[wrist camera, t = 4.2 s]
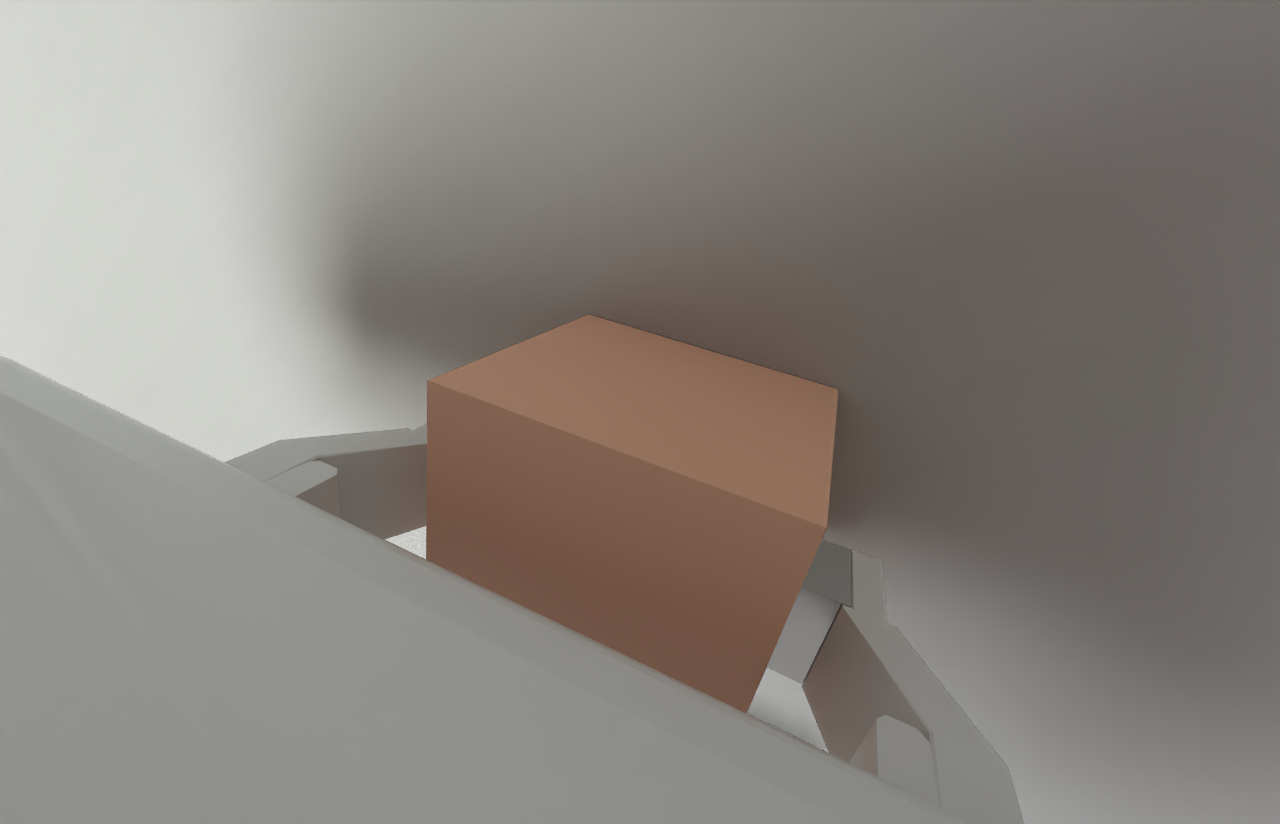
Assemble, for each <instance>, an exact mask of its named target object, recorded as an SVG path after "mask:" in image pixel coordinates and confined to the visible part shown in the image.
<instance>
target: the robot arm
mask: <svg viewBox="0 0 1280 824" xmlns="http://www.w3.org/2000/svg"><path fill="white" fill-rule="evenodd" d="M424 526H427V424H426V425H424V426H422V427H420V428H418V429H416V430H414V431H412V430H410V429H407V428H406V429H396V430H385V431H374V432H363V433H352V434H342V435H331V436H320V437H309V438H299V439H288V440H279V441H276V442H274V443H271V444H269V445H266V446H264V447H261V448H259V449H256V450H254V451H252V452H249V453H247V454H244V455H242V456H239V457H237V458H234V459H232V460H229V461H227V462H222V461H220V460H218V459H216V458H214V457H212V456H209V455H207V454H205V453H203V452H201V451H199V450H197V449H195V448H193V447H191V446H189V445H187V444H184V443H182V442H180V441H178V440H176V439H174V438H172V437H170V436H168V435H166V434H164V433H162V432H160V431H157V430H155V429H153V428H151V427H149V426H147V425H145V424H143V423H141V422H139V421H137V420H135V419H132V418H130V417H128V416H126V415H124V414H122V413H120V412H118V411H116V410H114V409H112V408H110V407H108V406H105V405H103V404H101V403H99V402H97V401H95V400H93V399H91V398H89V397H87V396H85V395H83V394H81V393H78V392H76V391H74V390H72V389H70V388H68V387H66V386H64V385H62V384H60V383H58V382H56V381H53V380H51V379H49V378H47V377H45V376H43V375H41V374H39V373H37V372H35V371H33V370H31V369H29V368H28V367H26V366H24V365H22V364H20V363H18V362H16V361H13V360H10V359H7V358H4V357H0V824H1024V822H1023V818H1022V815H1021V811H1020V807H1019V804H1018V800H1017V796H1016V793H1015V789H1014V786H1013V782H1012V778H1011V775H1010V771H1009V768H1008V767H1007V765H1006V764H1005V763H1004V761H1003V760H1002V759H1001V758H1000V756H999V755H998V754H997V753H996V751H995V750H994V749H993V748H992V746H991V745H990V744H989V743H988V741H987V740H986V739H985V738H984V736H983V735H982V734H981V733H980V731H979V730H978V729H977V728H976V726H975V725H974V724H973V723H972V721H971V720H970V719H969V717H968V716H967V715H966V714H965V712H964V711H963V710H962V709H961V707H960V706H959V705H958V704H957V702H956V701H955V700H954V699H953V697H952V696H951V695H950V694H949V692H948V691H947V690H946V689H945V687H944V686H943V685H942V684H941V682H940V681H939V680H938V678H937V677H936V676H935V675H934V673H933V672H932V671H931V670H930V668H929V667H928V666H927V665H926V663H925V662H924V661H923V660H922V658H921V657H920V656H919V655H918V653H917V652H916V651H915V650H914V648H913V647H912V646H911V645H910V643H909V642H908V641H907V639H906V638H905V637H904V636H903V634H902V633H901V632H900V631H899V629H898V628H897V627H896V626H894V625H891V624H889V623H887V613H886V602H885V591H884V580H883V569H882V562H881V561H880V560H879V559H878V558H875V557H872V556H869V555H866V554H863V553H860V552H857V551H854V550H851V549H848V548H845V547H842V546H839V545H836V544H833V543H831V542H828V541H825V540H822V541H821V543H820V545H819V548H818V550H817V552H816V555H815V557H814V559H813V561H812V564H811V566H810V568H809V571H808V573H807V575H806V578H805V580H804V582H803V584H802V587H801V589H800V591H799V594H798V596H797V598H796V601H795V603H794V605H793V607H792V610H791V612H790V614H789V617H788V619H787V621H786V624H785V626H784V628H783V630H782V633H781V635H780V637H779V640H778V642H777V644H776V647H775V649H774V651H773V653H772V656H771V658H770V660H769V663H768V665H767V667H768V668H770V669H772V670H774V671H776V672H778V673H780V674H782V675H784V676H787V677H789V678H791V679H793V680H795V681H797V682H799V683H801V684H803V686H802V687H803V690H804V692H805V695H806V697H807V700H808V702H809V705H810V707H811V709H812V712H813V714H814V717H815V719H816V722H817V724H818V727H819V729H820V731H821V734H822V736H823V739H824V741H825V744H826V746H827V749H828V751H829V753H827V752H825V751H823V750H821V749H819V748H817V747H815V746H813V745H811V744H809V743H807V742H805V741H803V740H800V739H798V738H796V737H794V736H792V735H790V734H788V733H786V732H784V731H782V730H780V729H778V728H775V727H773V726H771V725H769V724H767V723H765V722H763V721H761V720H759V719H757V718H755V717H753V716H751V715H748V714H746V713H744V712H742V711H740V710H738V709H736V708H734V707H732V706H730V705H728V704H726V703H724V702H721V701H719V700H717V699H715V698H713V697H711V696H709V695H707V694H705V693H703V692H701V691H699V690H697V689H694V688H692V687H690V686H688V685H686V684H684V683H682V682H680V681H678V680H676V679H674V678H672V677H669V676H667V675H665V674H663V673H661V672H659V671H657V670H655V669H653V668H651V667H649V666H647V665H645V664H642V663H640V662H638V661H636V660H634V659H632V658H630V657H628V656H626V655H624V654H622V653H620V652H618V651H615V650H613V649H611V648H609V647H607V646H605V645H603V644H601V643H599V642H597V641H595V640H593V639H590V638H588V637H586V636H584V635H582V634H580V633H578V632H576V631H574V630H572V629H570V628H568V627H565V626H563V625H561V624H559V623H557V622H555V621H553V620H551V619H549V618H547V617H545V616H542V615H540V614H538V613H536V612H534V611H532V610H530V609H528V608H526V607H524V606H521V605H519V604H517V603H515V602H513V601H511V600H509V599H507V598H505V597H503V596H501V595H498V594H496V593H494V592H492V591H490V590H488V589H486V588H484V587H482V586H480V585H478V584H476V583H474V582H471V581H469V580H467V579H465V578H463V577H461V576H459V575H457V574H455V573H453V572H451V571H449V570H446V569H444V568H442V567H440V566H438V565H436V564H434V563H432V562H430V561H428V560H426V559H424V558H422V557H419V556H417V555H415V554H413V553H411V552H409V551H407V550H405V549H403V548H401V547H399V546H397V545H395V544H392V543H390V542H388V541H386V540H384V539H387V538H390V537H393V536H397V535H400V534H403V533H406V532H409V531H412V530H415V529H418V528H421V527H424Z"/></svg>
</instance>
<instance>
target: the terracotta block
mask: <svg viewBox="0 0 1280 824" xmlns="http://www.w3.org/2000/svg"><path fill="white" fill-rule="evenodd" d="M838 391H839V389H836V388H833V387H829V386H826V385H823V384H819V383H816V382H813V381H809V380H806V379H803V378H799V377H796V376H793V375H789V374H786V373H783V372H779V371H776V370H773V369H769V368H766V367H763V366H759V365H756V364H753V363H749V362H746V361H743V360H739V359H736V358H733V357H729V356H726V355H723V354H719V353H716V352H713V351H709V350H706V349H703V348H699V347H696V346H693V345H689V344H686V343H683V342H679V341H676V340H673V339H669V338H666V337H663V336H659V335H656V334H653V333H649V332H646V331H643V330H639V329H636V328H633V327H629V326H626V325H623V324H619V323H616V322H613V321H609V320H606V319H603V318H599V317H596V316H593V315H589V314H588V315H586V316H583V317H581V318H579V319H576V320H574V321H571V322H569V323H566V324H564V325H561V326H559V327H557V328H554V329H552V330H549V331H547V332H544V333H542V334H539V335H537V336H535V337H532V338H530V339H527V340H525V341H522V342H520V343H517V344H515V345H513V346H510V347H508V348H505V349H503V350H500V351H498V352H495V353H493V354H490V355H488V356H486V357H483V358H481V359H478V360H476V361H473V362H471V363H468V364H466V365H464V366H461V367H459V368H456V369H454V370H451V371H449V372H446V373H444V374H442V375H439V376H437V377H434V378H432V379H429V380H427V533H426V560H428V561H430V562H432V563H434V564H436V565H438V566H440V567H442V568H444V569H446V570H449V571H451V572H453V573H455V574H457V575H459V576H461V577H463V578H465V579H467V580H469V581H471V582H474V583H476V584H478V585H480V586H482V587H484V588H486V589H488V590H490V591H492V592H494V593H496V594H498V595H501V596H503V597H505V598H507V599H509V600H511V601H513V602H515V603H517V604H519V605H521V606H524V607H526V608H528V609H530V610H532V611H534V612H536V613H538V614H540V615H542V616H545V617H547V618H549V619H551V620H553V621H555V622H557V623H559V624H561V625H563V626H565V627H568V628H570V629H572V630H574V631H576V632H578V633H580V634H582V635H584V636H586V637H588V638H590V639H593V640H595V641H597V642H599V643H601V644H603V645H605V646H607V647H609V648H611V649H613V650H615V651H618V652H620V653H622V654H624V655H626V656H628V657H630V658H632V659H634V660H636V661H638V662H640V663H642V664H645V665H647V666H649V667H651V668H653V669H655V670H657V671H659V672H661V673H663V674H665V675H667V676H669V677H672V678H674V679H676V680H678V681H680V682H682V683H684V684H686V685H688V686H690V687H692V688H694V689H697V690H699V691H701V692H703V693H705V694H707V695H709V696H711V697H713V698H715V699H717V700H719V701H721V702H724V703H726V704H728V705H730V706H732V707H734V708H736V709H738V710H740V711H742V712H744V713H747V711H748V709H749V706H750V704H751V702H752V700H753V697H754V695H755V693H756V690H757V688H758V686H759V683H760V681H761V679H762V677H763V674H764V672H765V670H766V667H767V665H768V663H769V660H770V658H771V656H772V653H773V651H774V649H775V647H776V644H777V642H778V640H779V637H780V635H781V633H782V630H783V628H784V626H785V624H786V621H787V619H788V617H789V614H790V612H791V610H792V607H793V605H794V603H795V601H796V598H797V596H798V594H799V591H800V589H801V587H802V584H803V582H804V580H805V578H806V575H807V573H808V571H809V568H810V566H811V564H812V561H813V559H814V557H815V555H816V552H817V550H818V548H819V545H820V543H821V541H822V538H823V536H824V534H825V532H826V529H827V522H828V510H829V498H830V486H831V474H832V462H833V450H834V438H835V427H836V415H837V403H838Z"/></svg>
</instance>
